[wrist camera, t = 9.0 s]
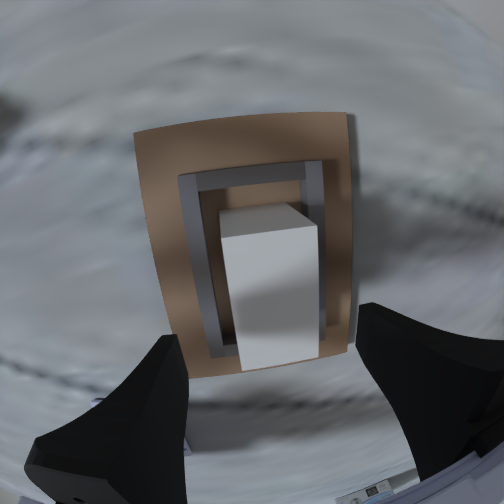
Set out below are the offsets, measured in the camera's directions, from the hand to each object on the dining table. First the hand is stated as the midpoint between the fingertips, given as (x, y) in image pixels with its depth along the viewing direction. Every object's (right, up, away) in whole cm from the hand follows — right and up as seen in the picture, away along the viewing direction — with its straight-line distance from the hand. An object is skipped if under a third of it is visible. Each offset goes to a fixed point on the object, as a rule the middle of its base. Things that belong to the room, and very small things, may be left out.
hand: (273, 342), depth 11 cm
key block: (0, +3, +8) cm, 8 cm away
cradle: (-1, +3, +9) cm, 9 cm away
